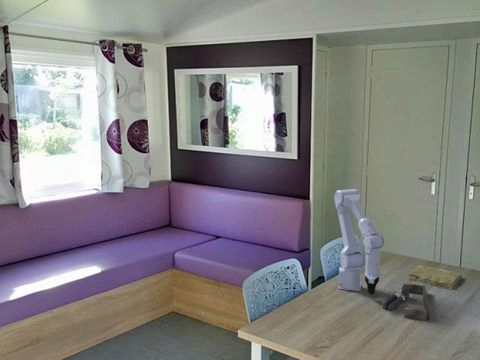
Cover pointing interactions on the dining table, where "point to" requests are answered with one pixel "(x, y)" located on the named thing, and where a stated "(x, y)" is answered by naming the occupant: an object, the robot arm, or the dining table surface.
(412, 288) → the box
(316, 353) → the dining table surface
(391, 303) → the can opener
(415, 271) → the decorative tile
